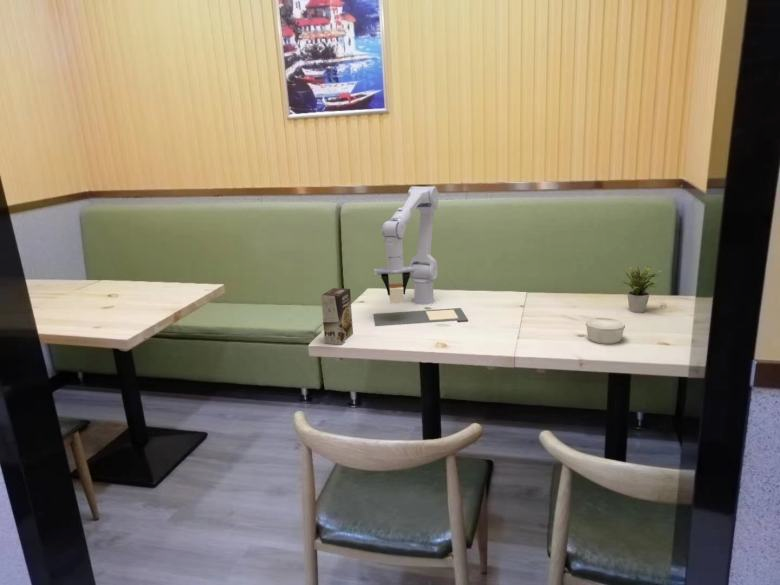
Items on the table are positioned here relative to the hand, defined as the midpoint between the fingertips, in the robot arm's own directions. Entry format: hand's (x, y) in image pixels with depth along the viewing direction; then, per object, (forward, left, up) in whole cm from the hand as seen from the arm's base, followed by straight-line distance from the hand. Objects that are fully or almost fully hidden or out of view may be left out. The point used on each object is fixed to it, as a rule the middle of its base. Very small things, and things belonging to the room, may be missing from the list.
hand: (396, 294), depth 203 cm
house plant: (+9, +83, -10) cm, 84 cm away
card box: (0, 0, -2) cm, 2 cm away
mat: (0, +8, -9) cm, 12 cm away
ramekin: (+32, +61, -10) cm, 69 cm away
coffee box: (+16, -20, -10) cm, 28 cm away
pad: (0, +16, -9) cm, 18 cm away
